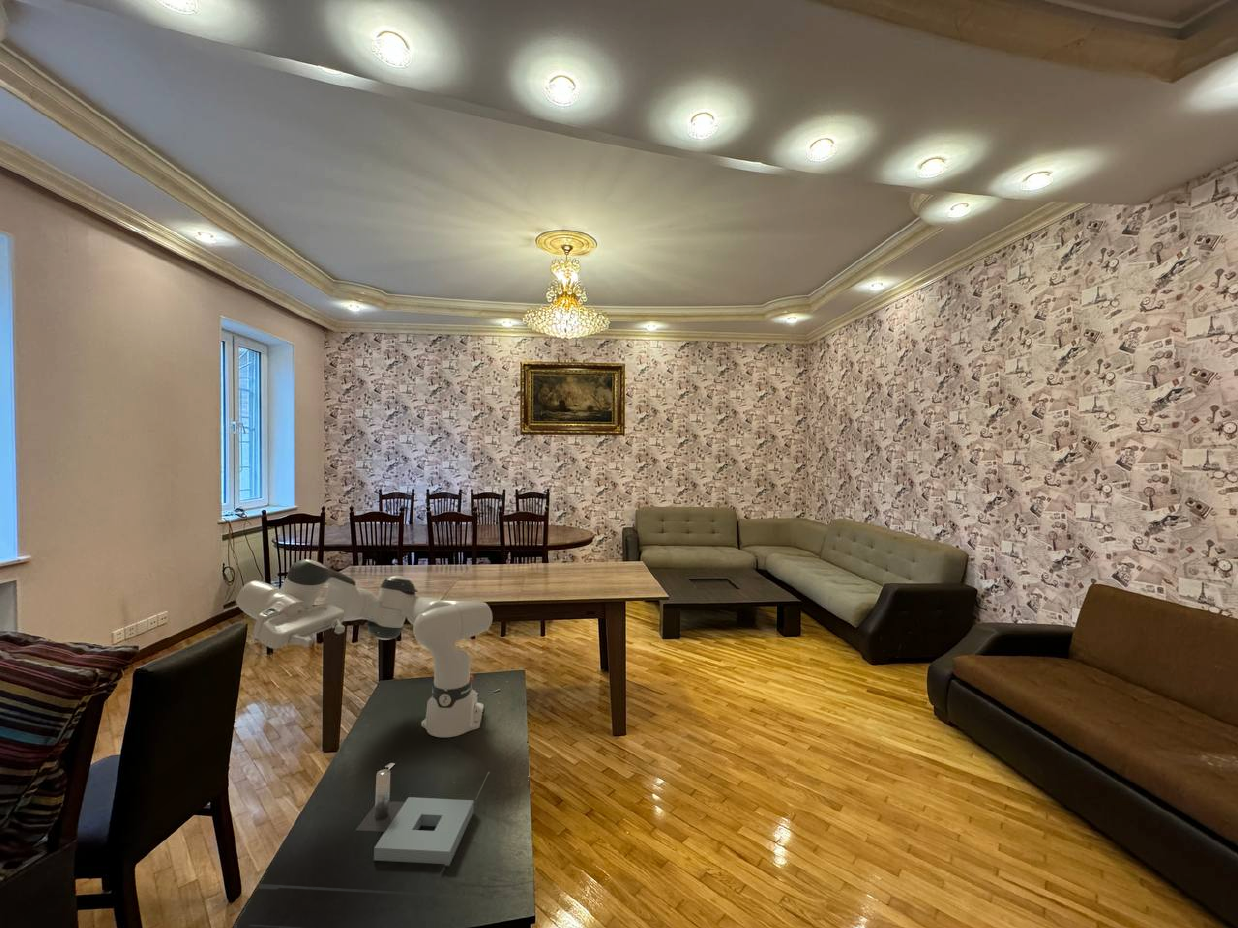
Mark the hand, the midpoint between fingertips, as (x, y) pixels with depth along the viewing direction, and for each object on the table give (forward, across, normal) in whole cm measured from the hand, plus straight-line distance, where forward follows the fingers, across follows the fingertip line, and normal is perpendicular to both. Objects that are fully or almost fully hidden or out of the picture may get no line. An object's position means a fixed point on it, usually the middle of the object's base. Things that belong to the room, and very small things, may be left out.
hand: (326, 636), depth 125 cm
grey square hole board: (+45, +5, -27) cm, 53 cm away
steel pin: (+32, +4, -31) cm, 44 cm away
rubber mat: (+32, +4, -31) cm, 45 cm away
